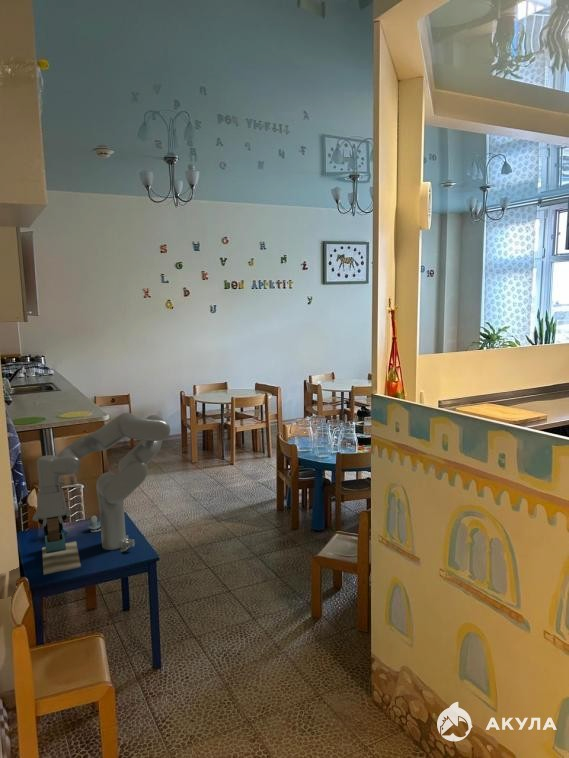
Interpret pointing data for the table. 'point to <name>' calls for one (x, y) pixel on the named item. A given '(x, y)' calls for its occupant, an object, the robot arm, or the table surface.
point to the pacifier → (94, 524)
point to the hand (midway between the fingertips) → (53, 532)
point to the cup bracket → (55, 544)
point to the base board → (61, 559)
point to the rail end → (53, 529)
